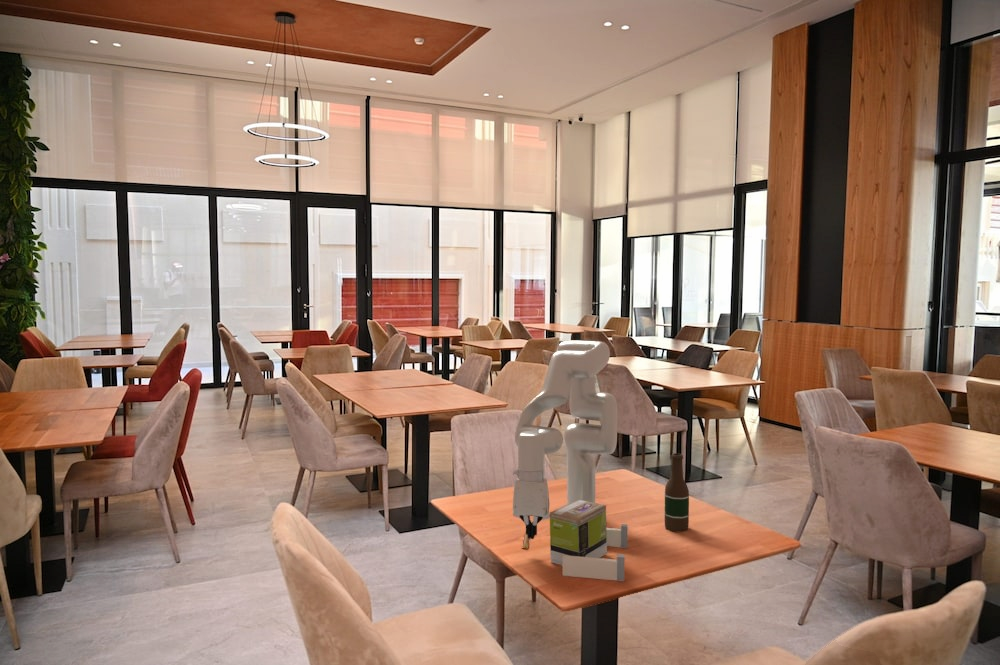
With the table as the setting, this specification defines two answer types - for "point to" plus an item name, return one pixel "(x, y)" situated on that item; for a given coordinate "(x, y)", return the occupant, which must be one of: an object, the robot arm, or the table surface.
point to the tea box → (578, 531)
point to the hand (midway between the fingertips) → (531, 537)
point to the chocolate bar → (525, 541)
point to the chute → (600, 560)
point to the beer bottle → (676, 498)
